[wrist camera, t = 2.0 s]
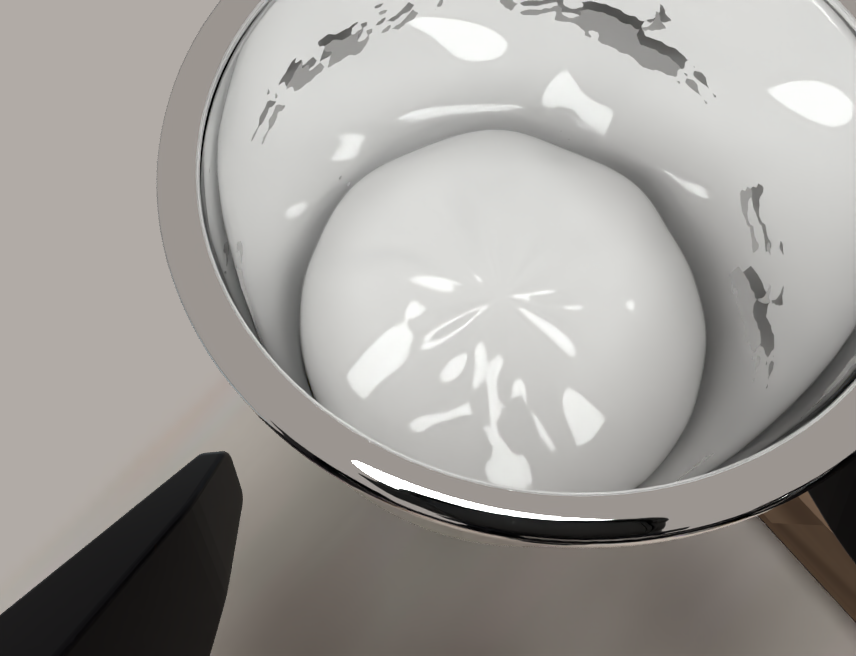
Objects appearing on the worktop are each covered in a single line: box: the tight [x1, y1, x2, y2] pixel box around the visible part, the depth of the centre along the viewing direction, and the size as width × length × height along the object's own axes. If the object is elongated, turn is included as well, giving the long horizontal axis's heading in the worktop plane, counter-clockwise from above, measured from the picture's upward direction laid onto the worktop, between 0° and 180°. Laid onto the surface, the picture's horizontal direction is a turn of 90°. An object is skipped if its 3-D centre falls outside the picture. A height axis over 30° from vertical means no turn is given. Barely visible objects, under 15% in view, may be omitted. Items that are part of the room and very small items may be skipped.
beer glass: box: [157, 0, 856, 548], centre depth 11 cm, size 7×7×15 cm
